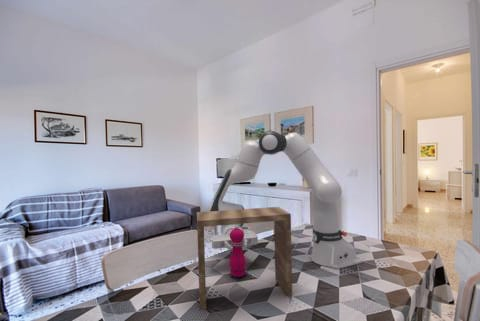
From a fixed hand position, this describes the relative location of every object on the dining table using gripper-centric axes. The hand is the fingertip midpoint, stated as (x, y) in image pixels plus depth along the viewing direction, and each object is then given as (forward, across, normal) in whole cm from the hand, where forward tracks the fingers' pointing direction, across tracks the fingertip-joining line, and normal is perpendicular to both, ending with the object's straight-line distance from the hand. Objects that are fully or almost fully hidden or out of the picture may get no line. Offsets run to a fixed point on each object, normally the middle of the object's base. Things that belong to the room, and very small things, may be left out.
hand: (237, 247), depth 98 cm
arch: (+12, 0, +12) cm, 17 cm away
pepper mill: (-1, 0, +12) cm, 12 cm away
